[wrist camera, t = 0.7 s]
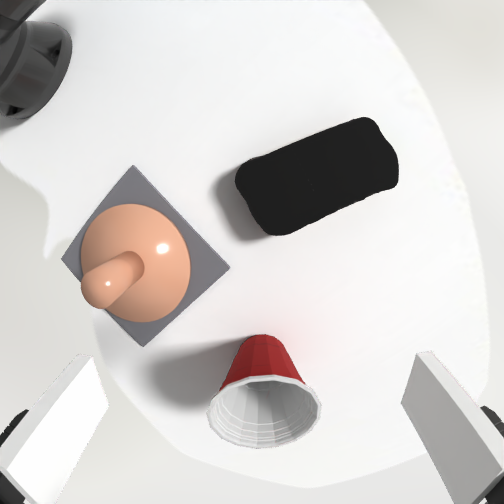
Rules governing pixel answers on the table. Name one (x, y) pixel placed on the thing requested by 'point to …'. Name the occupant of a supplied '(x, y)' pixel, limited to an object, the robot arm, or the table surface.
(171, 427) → the table surface
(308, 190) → the black sponge
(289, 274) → the table surface
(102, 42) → the table surface
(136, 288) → the lid
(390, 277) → the table surface
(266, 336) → the plastic cup
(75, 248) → the mat
